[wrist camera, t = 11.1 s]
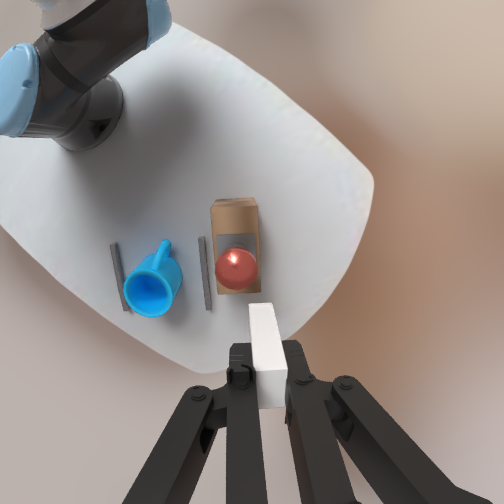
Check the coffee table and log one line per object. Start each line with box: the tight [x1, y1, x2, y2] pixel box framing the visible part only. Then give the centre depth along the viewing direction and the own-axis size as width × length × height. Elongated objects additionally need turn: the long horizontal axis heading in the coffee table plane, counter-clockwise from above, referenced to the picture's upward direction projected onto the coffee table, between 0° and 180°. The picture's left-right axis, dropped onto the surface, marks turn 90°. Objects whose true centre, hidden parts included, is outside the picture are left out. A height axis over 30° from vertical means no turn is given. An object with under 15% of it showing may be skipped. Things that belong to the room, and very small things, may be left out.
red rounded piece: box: [215, 243, 257, 290], centre depth 33 cm, size 5×5×6 cm
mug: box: [123, 239, 182, 317], centre depth 44 cm, size 12×8×8 cm
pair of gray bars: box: [110, 237, 211, 311], centre depth 47 cm, size 13×17×2 cm
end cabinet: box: [210, 198, 261, 295], centre depth 42 cm, size 6×12×11 cm, turn 2°
